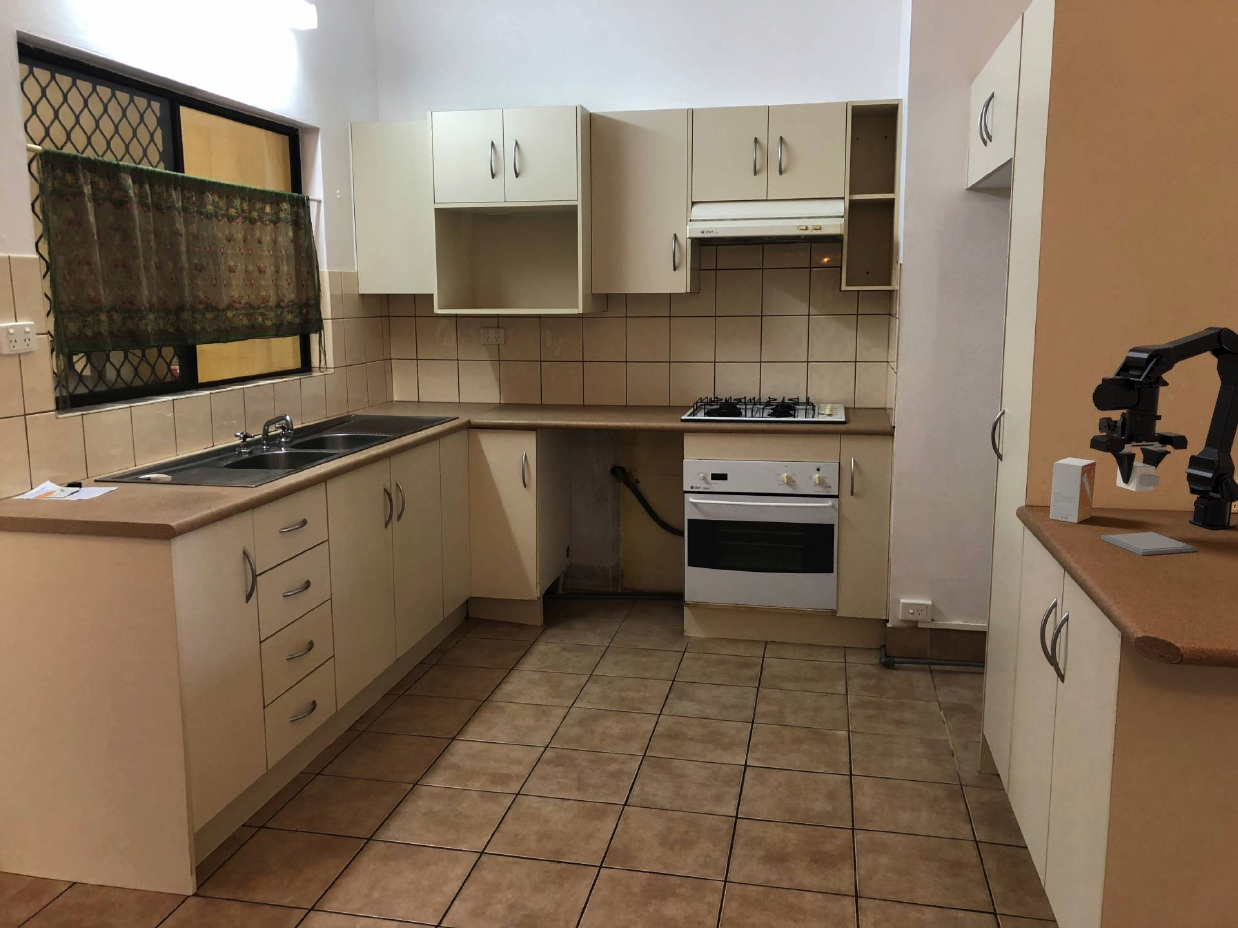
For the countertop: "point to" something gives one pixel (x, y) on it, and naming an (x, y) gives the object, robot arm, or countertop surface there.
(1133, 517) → the countertop surface
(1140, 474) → the connector
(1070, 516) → the small box
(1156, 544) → the plate
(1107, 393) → the robot arm
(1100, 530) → the countertop surface
